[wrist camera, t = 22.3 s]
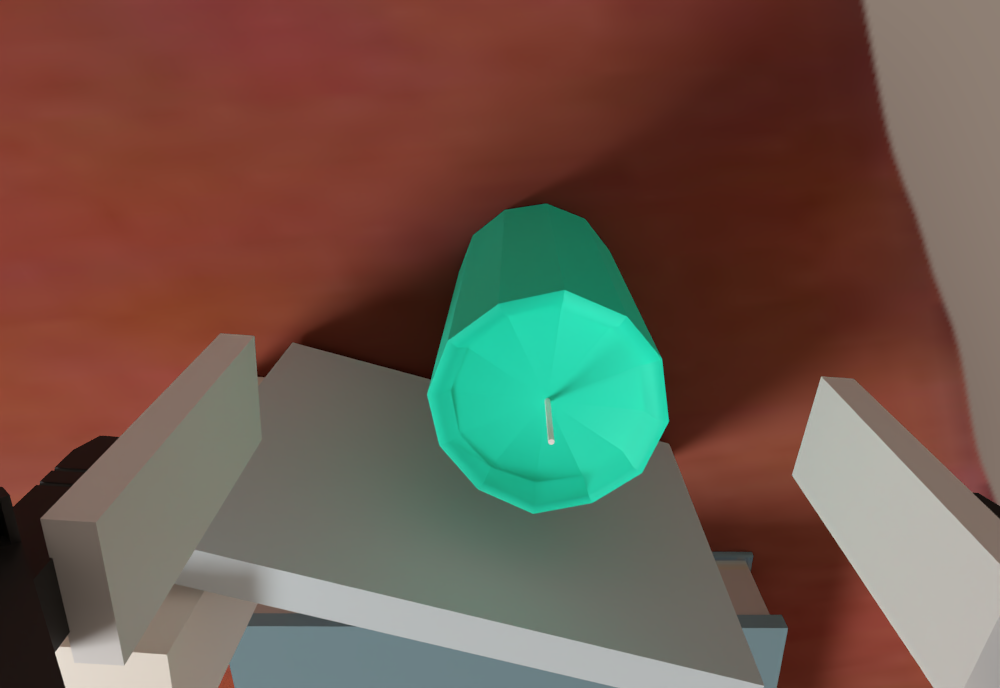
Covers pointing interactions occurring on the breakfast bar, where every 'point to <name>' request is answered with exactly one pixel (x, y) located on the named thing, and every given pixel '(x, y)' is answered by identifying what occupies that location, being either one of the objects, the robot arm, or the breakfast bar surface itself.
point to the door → (463, 543)
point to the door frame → (172, 645)
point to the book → (447, 650)
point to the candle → (545, 366)
